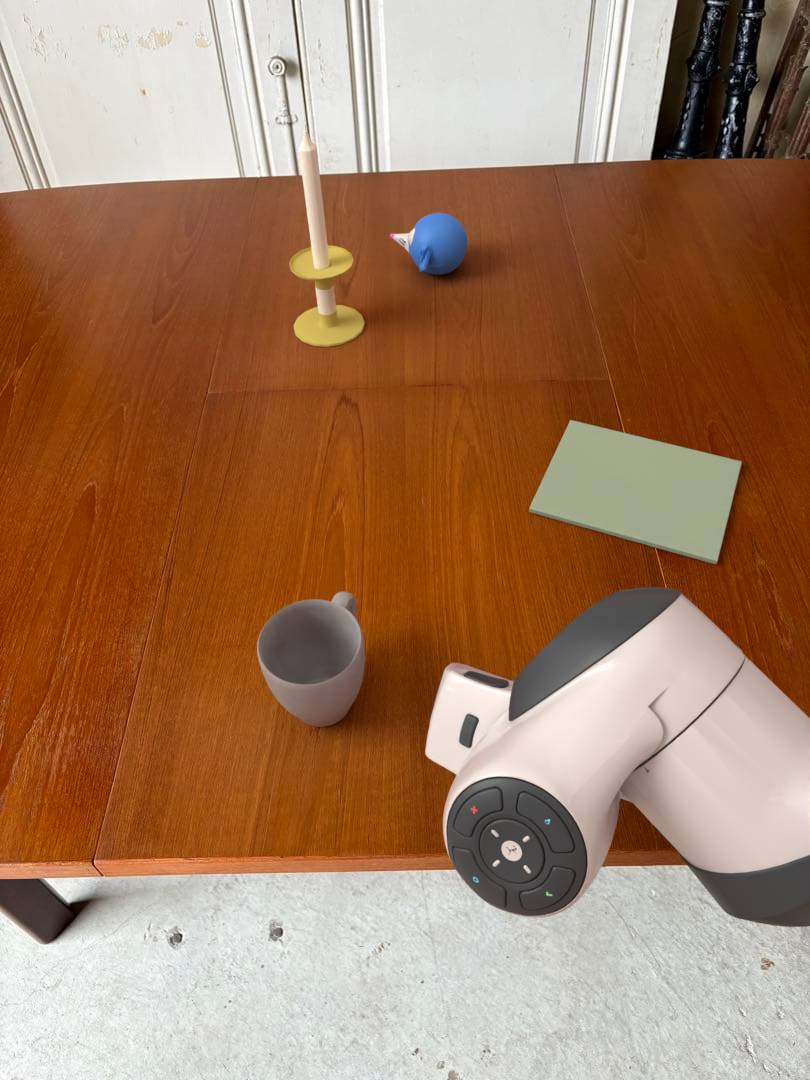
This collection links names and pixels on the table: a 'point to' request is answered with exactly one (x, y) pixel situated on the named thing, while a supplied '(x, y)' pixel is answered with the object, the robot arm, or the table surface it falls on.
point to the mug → (314, 658)
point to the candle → (322, 267)
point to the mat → (639, 490)
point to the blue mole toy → (435, 243)
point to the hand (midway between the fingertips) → (578, 711)
